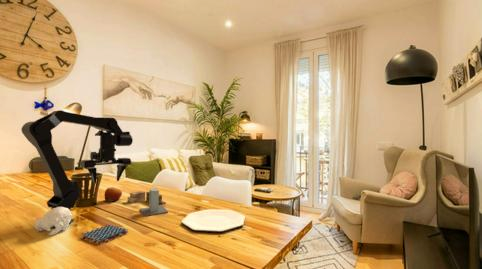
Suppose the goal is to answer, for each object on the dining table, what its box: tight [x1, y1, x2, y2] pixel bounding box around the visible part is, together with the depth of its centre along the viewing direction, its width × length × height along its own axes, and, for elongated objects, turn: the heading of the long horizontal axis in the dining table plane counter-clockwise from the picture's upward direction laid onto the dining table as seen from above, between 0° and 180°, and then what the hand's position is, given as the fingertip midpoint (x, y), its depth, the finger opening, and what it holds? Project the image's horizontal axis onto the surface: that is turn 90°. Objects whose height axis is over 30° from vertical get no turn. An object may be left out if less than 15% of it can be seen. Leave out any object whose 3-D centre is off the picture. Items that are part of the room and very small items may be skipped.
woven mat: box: [80, 224, 129, 245], centre depth 77 cm, size 10×11×2 cm
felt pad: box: [139, 205, 169, 217], centre depth 104 cm, size 10×10×1 cm
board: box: [148, 187, 160, 212], centre depth 104 cm, size 3×5×9 cm, turn 30°
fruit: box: [104, 186, 123, 204], centre depth 120 cm, size 8×8×8 cm
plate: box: [181, 208, 246, 233], centre depth 92 cm, size 24×24×2 cm
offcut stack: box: [127, 190, 146, 204], centre depth 120 cm, size 7×4×4 cm, turn 140°
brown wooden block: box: [145, 191, 167, 206], centre depth 119 cm, size 4×12×4 cm, turn 50°
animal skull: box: [33, 207, 73, 237], centre depth 80 cm, size 6×8×12 cm
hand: (106, 182), depth 102 cm, fingers open, 9 cm apart
